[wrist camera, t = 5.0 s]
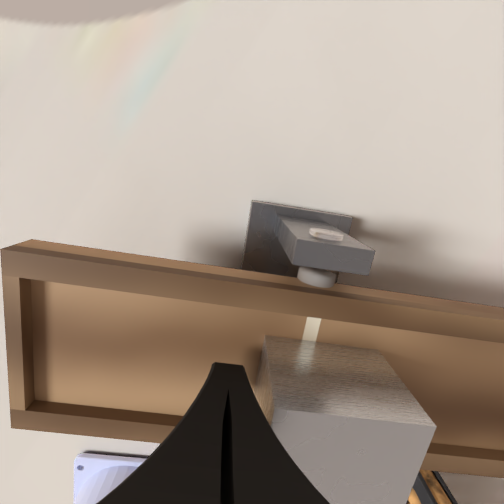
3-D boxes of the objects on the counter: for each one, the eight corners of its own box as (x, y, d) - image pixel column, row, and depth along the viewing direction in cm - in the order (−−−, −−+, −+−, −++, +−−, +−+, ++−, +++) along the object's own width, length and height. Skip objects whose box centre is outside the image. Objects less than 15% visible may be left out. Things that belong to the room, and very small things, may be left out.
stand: (303, 389, 22) (336, 499, 14) (222, 380, 21) (213, 489, 14) (346, 215, 18) (416, 244, 11) (251, 200, 18) (260, 219, 11)
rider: (352, 430, 14) (395, 530, 10) (248, 419, 14) (250, 517, 10) (378, 349, 13) (437, 426, 9) (264, 335, 12) (274, 408, 9)
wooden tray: (485, 443, 17) (524, 486, 14) (47, 394, 15) (11, 435, 13) (550, 301, 14) (609, 326, 12) (43, 226, 13) (-1, 238, 10)
